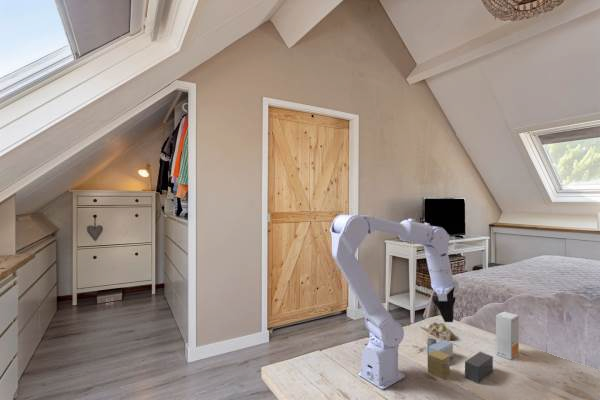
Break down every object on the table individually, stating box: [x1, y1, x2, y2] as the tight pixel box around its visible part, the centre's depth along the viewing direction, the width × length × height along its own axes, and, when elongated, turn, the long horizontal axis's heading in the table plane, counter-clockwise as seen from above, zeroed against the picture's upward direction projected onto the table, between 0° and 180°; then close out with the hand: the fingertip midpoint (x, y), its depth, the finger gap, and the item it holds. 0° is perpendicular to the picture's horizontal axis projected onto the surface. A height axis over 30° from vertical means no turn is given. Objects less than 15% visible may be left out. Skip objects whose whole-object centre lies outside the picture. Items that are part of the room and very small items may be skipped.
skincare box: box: [495, 311, 520, 360], centre depth 91 cm, size 6×4×12 cm
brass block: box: [427, 350, 451, 380], centre depth 81 cm, size 4×4×5 cm
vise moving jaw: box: [427, 338, 454, 358], centre depth 89 cm, size 8×6×4 cm
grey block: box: [464, 351, 494, 384], centre depth 80 cm, size 9×3×4 cm, turn 127°
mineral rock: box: [427, 321, 456, 342], centre depth 105 cm, size 11×4×8 cm
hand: (449, 314), depth 84 cm, fingers open, 7 cm apart
